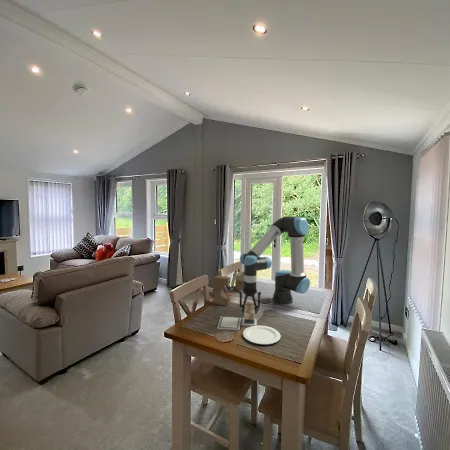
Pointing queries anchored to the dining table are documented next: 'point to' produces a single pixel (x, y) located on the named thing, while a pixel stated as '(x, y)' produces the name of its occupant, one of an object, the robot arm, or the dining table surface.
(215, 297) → the decorative block
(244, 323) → the ink pad
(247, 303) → the stamp
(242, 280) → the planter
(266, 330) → the plate
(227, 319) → the board
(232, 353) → the dining table surface
